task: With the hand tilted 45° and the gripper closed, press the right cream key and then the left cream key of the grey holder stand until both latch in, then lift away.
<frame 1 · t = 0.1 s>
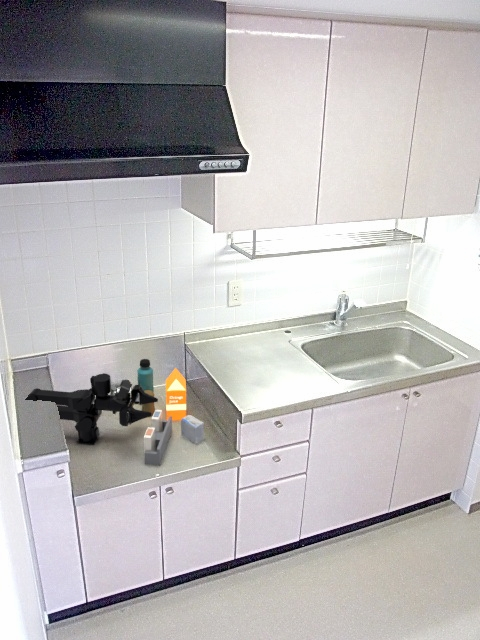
hand: (154, 407, 194), 17 cm above the worktop, tool horizontal, fingers open, 9 cm apart
orange juice: (176, 417, 218), on the worktop
grey holder stand: (158, 449, 199), on the worktop
medicine box: (192, 440, 205), on the worktop
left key: (157, 425, 201), point 6 cm above the worktop, slide at 0.0 cm
right key: (149, 444, 191), point 6 cm above the worktop, slide at 0.0 cm
beverage bottle: (146, 403, 226), on the worktop
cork: (148, 416, 218), on the worktop
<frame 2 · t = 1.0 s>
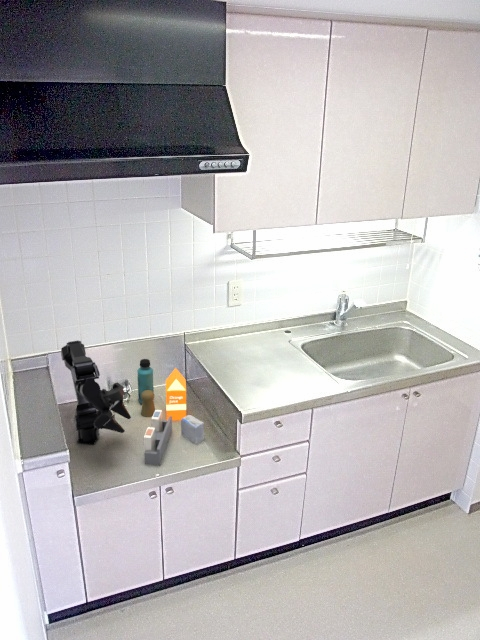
hand: (127, 425, 190), 13 cm above the worktop, tool tilted 45°, fingers open, 9 cm apart
nothing on the worktop moved.
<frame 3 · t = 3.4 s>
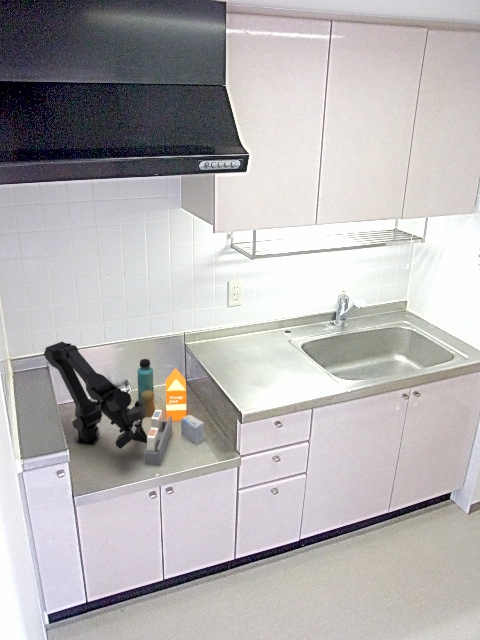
hand: (148, 442, 191), 7 cm above the worktop, tool tilted 45°, fingers closed, pressing on right key
right key: (153, 444, 191), point 6 cm above the worktop, slide at 1.2 cm, touching gripper
everything else where it was.
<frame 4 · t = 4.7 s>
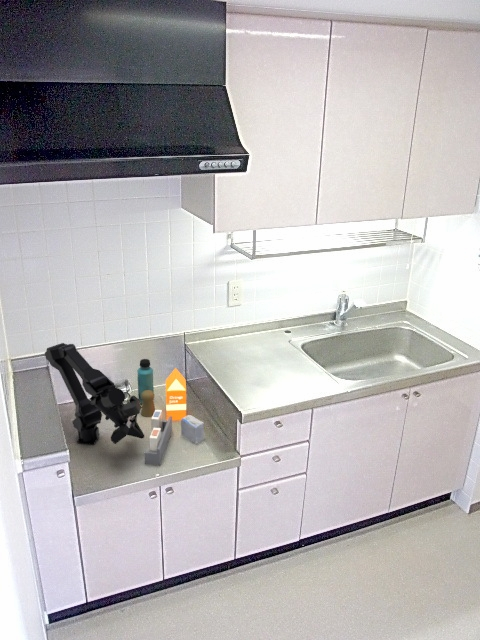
hand: (143, 437, 191), 9 cm above the worktop, tool tilted 45°, fingers closed
right key: (155, 444, 191), point 6 cm above the worktop, slide at 2.1 cm
everything else where it was.
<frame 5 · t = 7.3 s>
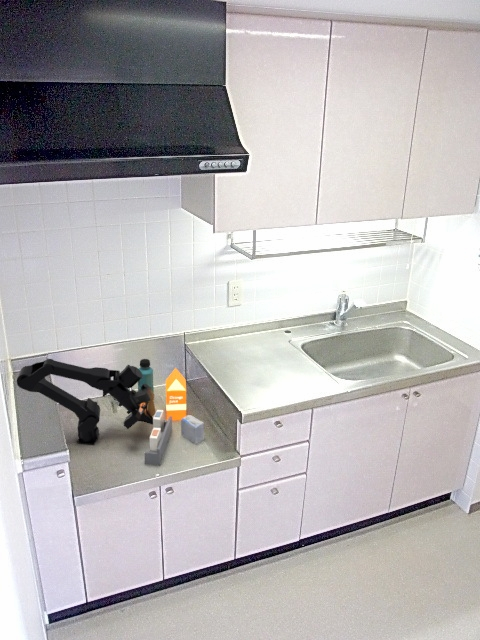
hand: (154, 423, 201), 7 cm above the worktop, tool tilted 45°, fingers closed, pressing on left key
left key: (158, 425, 201), point 6 cm above the worktop, slide at 0.5 cm, touching gripper
everything else where it was.
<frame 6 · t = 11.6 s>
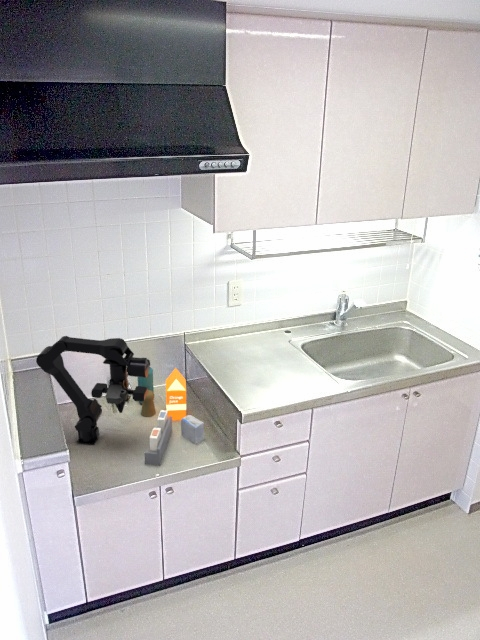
hand: (121, 412, 197), 13 cm above the worktop, tool pointing down, fingers closed
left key: (162, 426, 201), point 6 cm above the worktop, slide at 2.1 cm
everything else where it was.
at the end: right key slide at 2.1 cm; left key slide at 2.1 cm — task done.
